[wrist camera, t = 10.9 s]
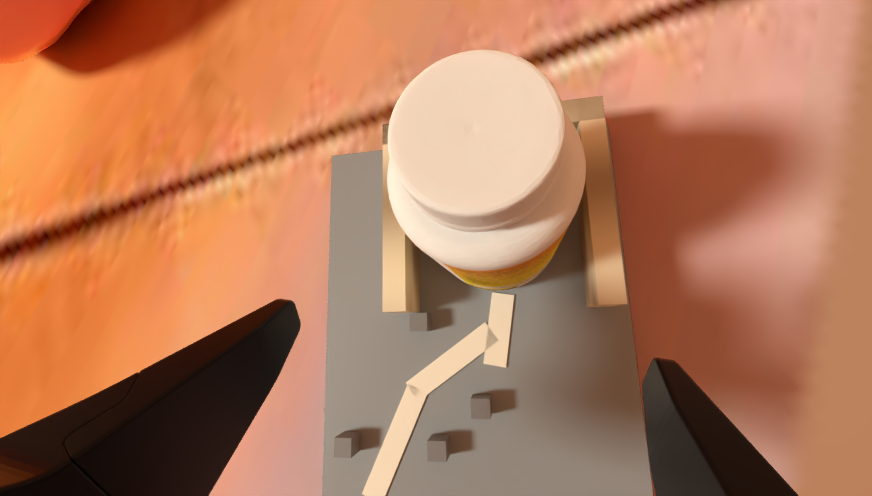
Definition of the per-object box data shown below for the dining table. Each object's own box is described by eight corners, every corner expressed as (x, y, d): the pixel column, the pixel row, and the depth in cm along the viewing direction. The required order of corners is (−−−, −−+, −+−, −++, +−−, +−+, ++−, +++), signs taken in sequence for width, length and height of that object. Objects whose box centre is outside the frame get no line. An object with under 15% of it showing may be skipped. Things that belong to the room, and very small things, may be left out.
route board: (653, 534, 15) (668, 558, 14) (328, 510, 18) (310, 528, 16) (604, 129, 19) (613, 112, 17) (336, 160, 21) (323, 148, 20)
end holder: (611, 306, 17) (627, 303, 14) (399, 313, 18) (382, 312, 16) (590, 125, 18) (602, 95, 16) (398, 148, 20) (382, 124, 18)
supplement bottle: (582, 222, 17) (669, 94, 8) (505, 317, 17) (492, 311, 8) (486, 155, 19) (455, -23, 9) (415, 242, 19) (306, 157, 9)
